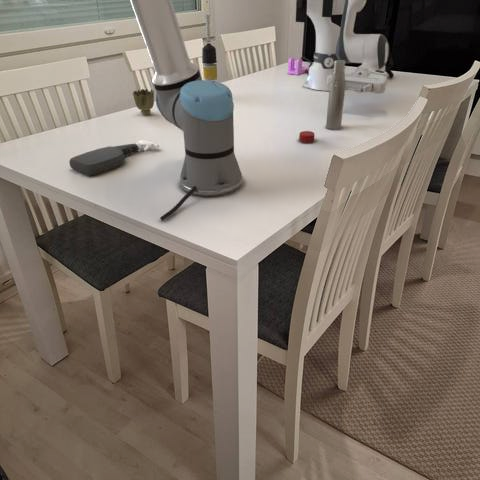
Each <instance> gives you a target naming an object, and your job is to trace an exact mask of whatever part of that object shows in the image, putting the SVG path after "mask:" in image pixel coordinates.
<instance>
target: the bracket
mask: <svg viewBox="0 0 480 480" xmlns="http://www.w3.org/2000/svg"><path fill="white" fill-rule="evenodd" d="M306 70H308V72H309V66H304V65H303V58H302V59H301V58H298V57H297V58H296V60H295V57H289V58H288V61H287V74H288V75H295V76H298V75H301V74H304V73H307V72H306Z"/></svg>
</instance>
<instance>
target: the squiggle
mask: <svg viewBox="0 0 480 480" xmlns="http://www.w3.org/2000/svg"><path fill="white" fill-rule="evenodd" d="M387 62H388V64H387V63H386V64H385V72H386V73H387V76H388V77H389V78H394V72H393V71H392V69H390V68H392V67H393V66H394V60H393V57H392V54H391V51H389V57H388V61H387Z"/></svg>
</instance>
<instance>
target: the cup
mask: <svg viewBox="0 0 480 480" xmlns="http://www.w3.org/2000/svg"><path fill="white" fill-rule="evenodd" d="M132 96H133V100H134V105H135V107H136V108H137V109H138V110H140V113H141V115H143V116H148V115H150V114H151V112H152V109H153V108H154V105H155V89H154V90H153V89H150V90H149V89H147V88H146V89H144V88H142V89H141V90H140V89H137V90H134V91H133V92H132Z"/></svg>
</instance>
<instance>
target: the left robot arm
mask: <svg viewBox="0 0 480 480" xmlns="http://www.w3.org/2000/svg"><path fill="white" fill-rule="evenodd" d="M129 1H130V3H131V4H130V5H131V6H132V10H133V12H134V15H135V18H136V21H137V23H138V26H139V30H140V33H141V35H142V37H143V40H144V43H145V46H146V48H147V49H146V50H147V52H148V55H149V57H150V60H151V63H152V66H153V68H154V72H155V73H154V76H153V78H152V85H153V87H154V91H155V93H154V101H155V104H156V107H157V110H158V111H159V113H160V115H161V116H162V117H163V118H164V119H165V120H166V121H167V122H168V123H170V124H171V125H173V126H175V127H177V128H178V129H179V130H180V131H182V132H183V143H184V154H185V155H184V158H183V164H182V168H181V171H180V177H179V178H180V179H179V183H180V184H179V185H180V188H181V189H182V191H184V192H186V194H184V196H183V197H182V198H181V199H180V200H179V201H178V202H177V203H176V205H174V206H173V208H171V209H170V210H168V211H167V212H166V213H164V214H163V215H161V216H160V220H161V221H165V219H167V218H169V217H170V216H171V215H173V214H174V213H175V212H176V211H178V209H180V207H181V206H182V205H184V203H185V202H186V201H187V200H188V199H189V197H190V196H191V195H194V196H199V197H221V196H224V195H229V194H232V193H234V192H235V191H237V190H239V189H240V188H241V187H242V185H243V174H242V171H241V168H240V165H239V163H238V160H237V157H236V154H235V132H234V131H235V130H234V127H235V126H234V109H235V105H234V100H233V98H234V97H233V93H232V90H231V88H229V87H228V86H227V85H226V84H224V83H222V82H219V81H215V82H212V81H213V80H212V81H208V80H204V79H202V75H201V72H200V68H199V66H198V65H196V64H195V63H193V62H191V60H190V57H189V54H188V50H187V47H186V44H185V40H184V38H183V34H182V31H181V28H180V24H179V20H178V17H177V14H176V11H175V7H174V4H173V1H172V0H129ZM332 10H333V0H323V8H322V17H331V18H332V17H333V15H332ZM307 16H308V15H307V0H296V1H295V23H307Z"/></svg>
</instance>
